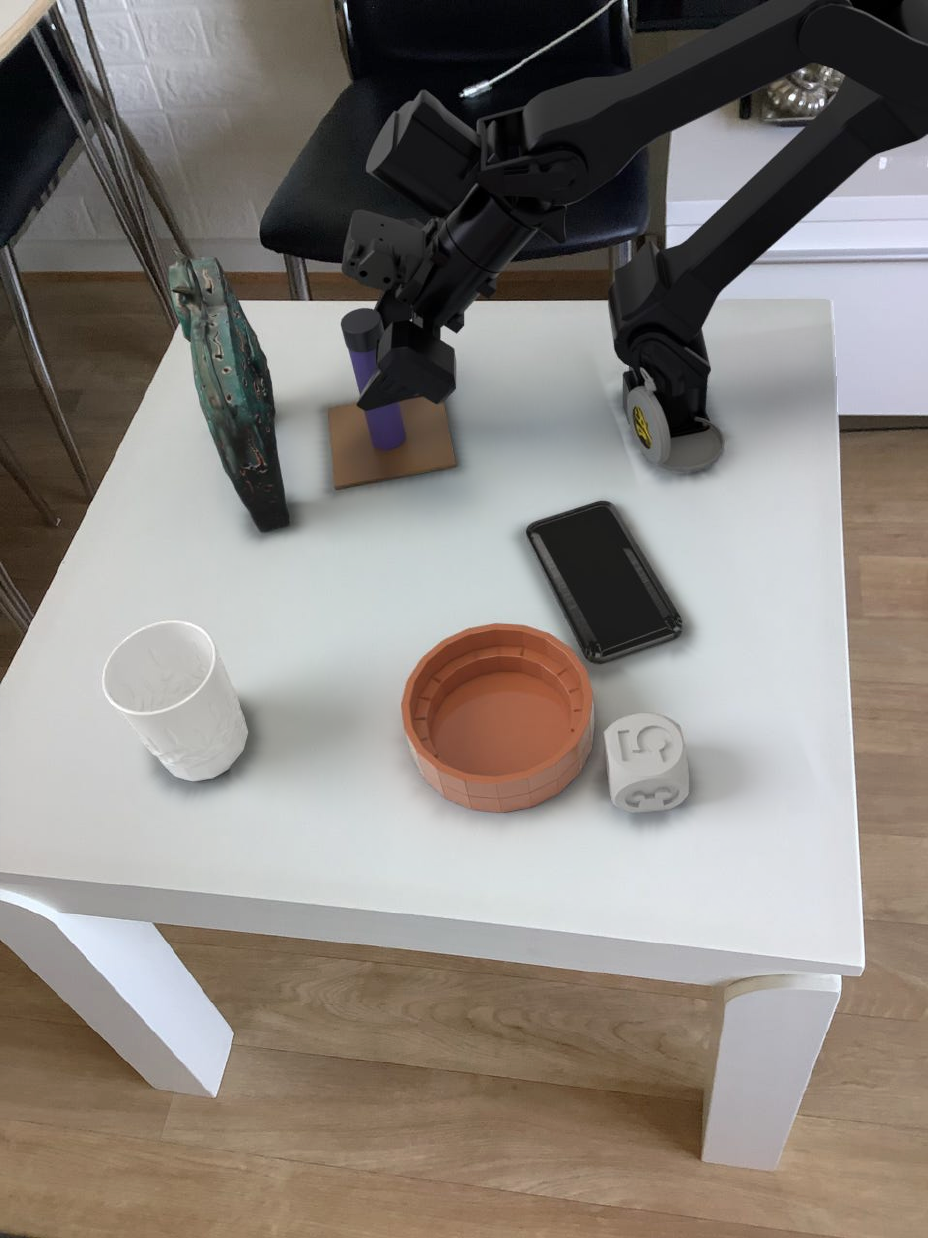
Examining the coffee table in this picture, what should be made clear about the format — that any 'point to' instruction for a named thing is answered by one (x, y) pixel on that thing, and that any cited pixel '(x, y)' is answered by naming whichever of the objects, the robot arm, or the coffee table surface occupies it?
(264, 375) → the green weathered sculpture
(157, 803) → the coffee table surface
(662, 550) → the coffee table surface
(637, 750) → the die
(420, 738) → the bowl
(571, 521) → the phone
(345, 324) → the glue stick
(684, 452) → the pocket watch
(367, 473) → the coaster
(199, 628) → the white cup
